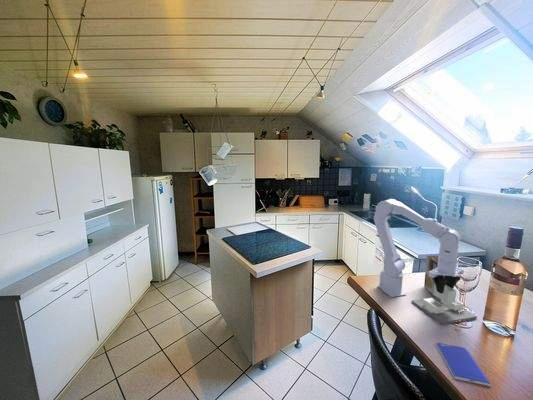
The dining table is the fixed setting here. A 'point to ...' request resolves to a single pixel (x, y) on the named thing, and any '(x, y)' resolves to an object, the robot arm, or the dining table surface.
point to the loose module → (446, 294)
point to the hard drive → (462, 364)
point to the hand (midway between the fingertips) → (443, 291)
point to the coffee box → (430, 265)
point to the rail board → (446, 314)
